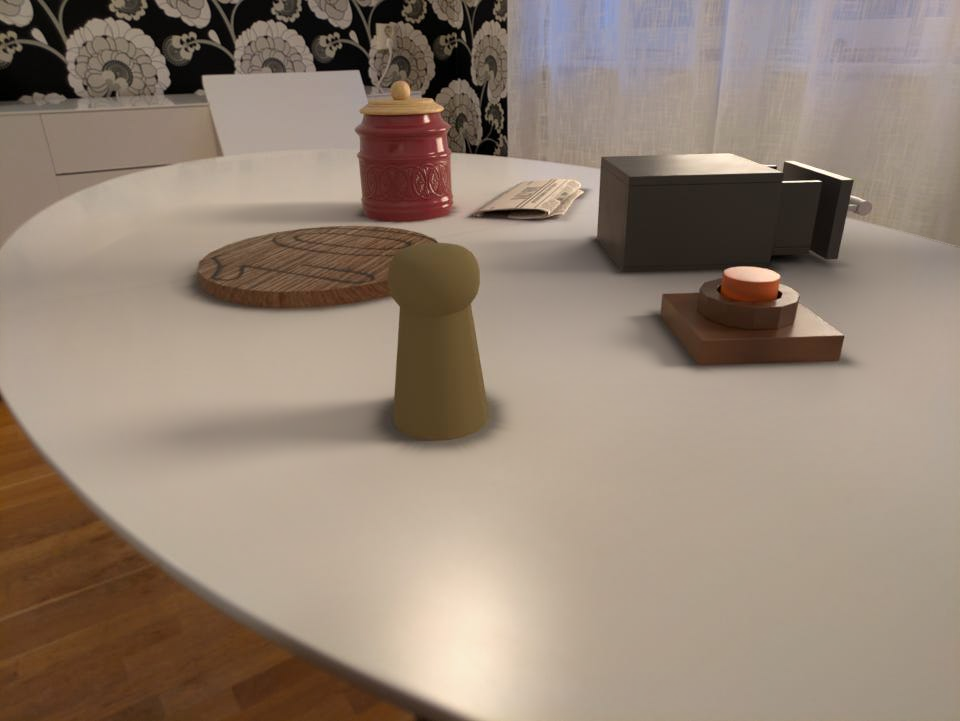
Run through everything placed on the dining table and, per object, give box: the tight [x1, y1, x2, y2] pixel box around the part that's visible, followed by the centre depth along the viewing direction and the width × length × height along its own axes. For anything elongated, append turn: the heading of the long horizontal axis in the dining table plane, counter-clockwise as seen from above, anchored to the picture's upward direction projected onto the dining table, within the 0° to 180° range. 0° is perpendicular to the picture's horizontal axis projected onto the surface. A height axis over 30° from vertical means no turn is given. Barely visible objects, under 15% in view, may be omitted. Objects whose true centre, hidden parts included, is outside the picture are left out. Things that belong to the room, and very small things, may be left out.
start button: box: [720, 266, 782, 302], centre depth 50 cm, size 4×4×2 cm
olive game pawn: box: [387, 242, 490, 442], centre depth 39 cm, size 6×6×11 cm
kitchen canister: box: [354, 80, 454, 223], centre depth 92 cm, size 13×13×18 cm
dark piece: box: [763, 160, 873, 260], centre depth 72 cm, size 18×13×8 cm
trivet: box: [196, 225, 439, 309], centre depth 71 cm, size 25×25×2 cm
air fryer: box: [596, 152, 784, 274], centre depth 72 cm, size 15×14×10 cm
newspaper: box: [473, 178, 585, 220], centre depth 100 cm, size 23×12×2 cm, turn 161°
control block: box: [659, 277, 845, 366], centre depth 51 cm, size 10×10×4 cm
